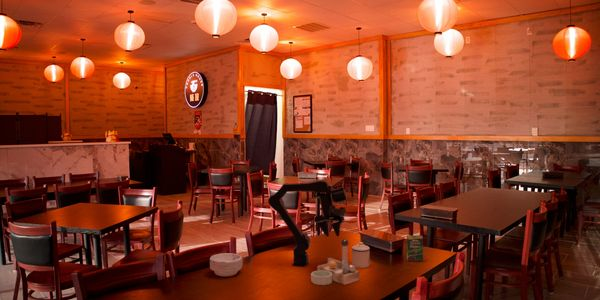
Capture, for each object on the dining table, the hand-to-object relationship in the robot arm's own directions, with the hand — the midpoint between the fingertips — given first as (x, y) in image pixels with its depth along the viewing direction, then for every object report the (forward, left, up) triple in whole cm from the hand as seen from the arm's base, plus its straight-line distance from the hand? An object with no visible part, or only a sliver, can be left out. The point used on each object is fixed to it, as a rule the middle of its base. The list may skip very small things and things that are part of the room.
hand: (333, 236), depth 213 cm
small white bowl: (0, -18, -16) cm, 24 cm away
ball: (+3, -10, -11) cm, 15 cm away
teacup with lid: (+10, +12, -17) cm, 23 cm away
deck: (+5, -10, -16) cm, 20 cm away
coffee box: (+35, +28, -17) cm, 48 cm away
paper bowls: (-46, -23, -17) cm, 54 cm away
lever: (+5, -10, -12) cm, 17 cm away
